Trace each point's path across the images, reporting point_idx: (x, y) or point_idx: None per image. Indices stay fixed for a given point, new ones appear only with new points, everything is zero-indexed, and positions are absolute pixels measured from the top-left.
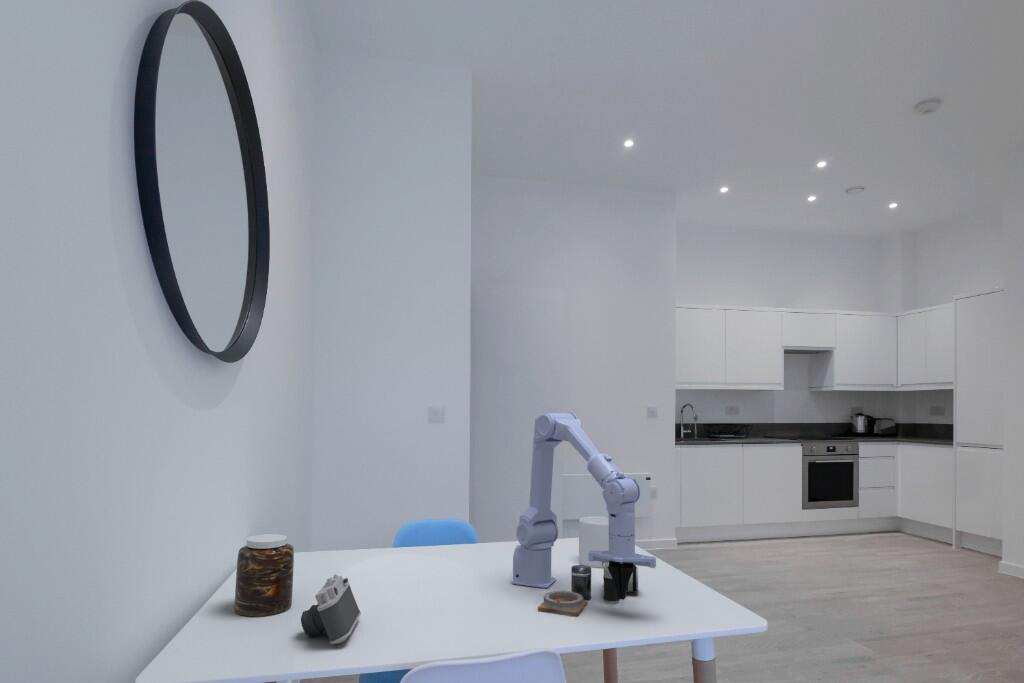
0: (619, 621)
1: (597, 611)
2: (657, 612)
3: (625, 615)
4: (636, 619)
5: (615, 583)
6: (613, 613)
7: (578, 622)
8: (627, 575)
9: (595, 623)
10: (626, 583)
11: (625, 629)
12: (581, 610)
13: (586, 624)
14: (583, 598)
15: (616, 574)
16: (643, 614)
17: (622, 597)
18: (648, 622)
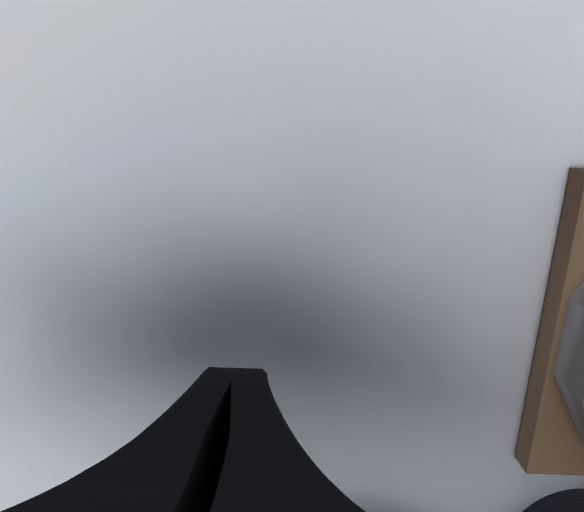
0: (236, 186)
1: (430, 338)
2: (20, 462)
3: (218, 329)
4: (123, 276)
5: (284, 437)
6: (309, 339)
7: (553, 37)
8: (44, 503)
9: (412, 67)
10: (126, 445)
11: (154, 15)
12: (554, 285)
13: (482, 13)
14: (561, 510)
15: (256, 508)
16: (100, 392)
17: (217, 372)
18: (25, 245)
